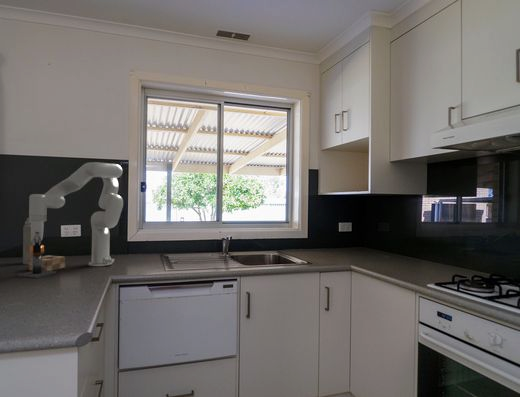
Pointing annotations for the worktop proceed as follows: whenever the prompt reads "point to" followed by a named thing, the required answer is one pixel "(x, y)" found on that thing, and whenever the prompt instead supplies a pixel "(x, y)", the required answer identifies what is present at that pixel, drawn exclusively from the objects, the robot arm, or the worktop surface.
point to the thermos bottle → (27, 241)
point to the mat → (30, 275)
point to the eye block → (50, 263)
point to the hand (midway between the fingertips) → (37, 251)
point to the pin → (36, 260)
